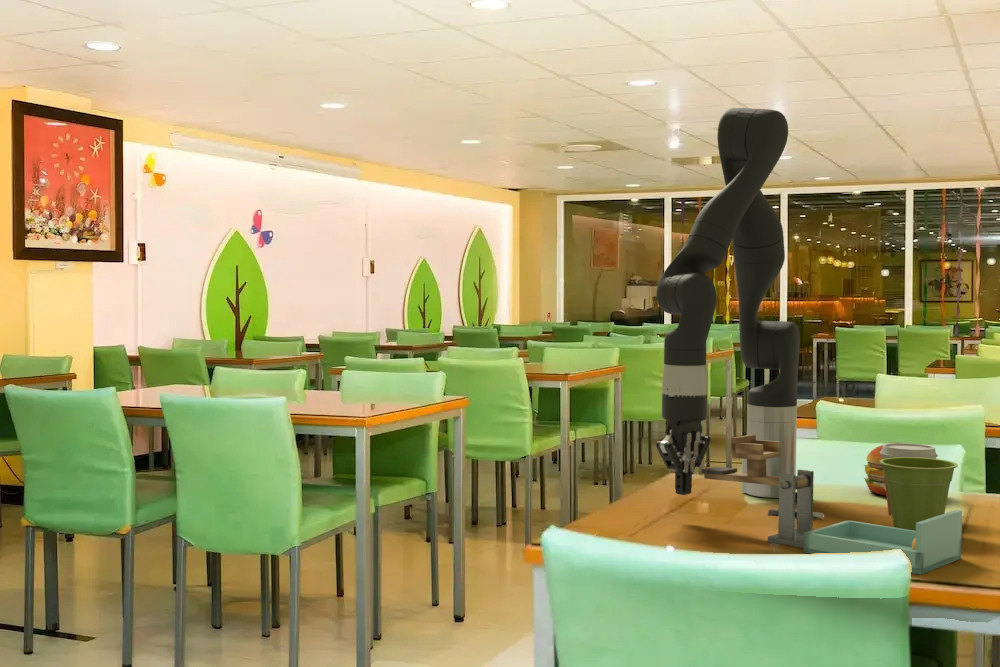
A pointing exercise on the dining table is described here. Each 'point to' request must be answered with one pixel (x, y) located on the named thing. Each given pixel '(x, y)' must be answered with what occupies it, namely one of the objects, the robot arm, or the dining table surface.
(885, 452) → the disposable coffee cup
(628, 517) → the dining table surface
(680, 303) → the robot arm
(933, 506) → the plant pot
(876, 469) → the burger
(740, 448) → the lever
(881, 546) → the tray
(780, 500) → the catapult base
